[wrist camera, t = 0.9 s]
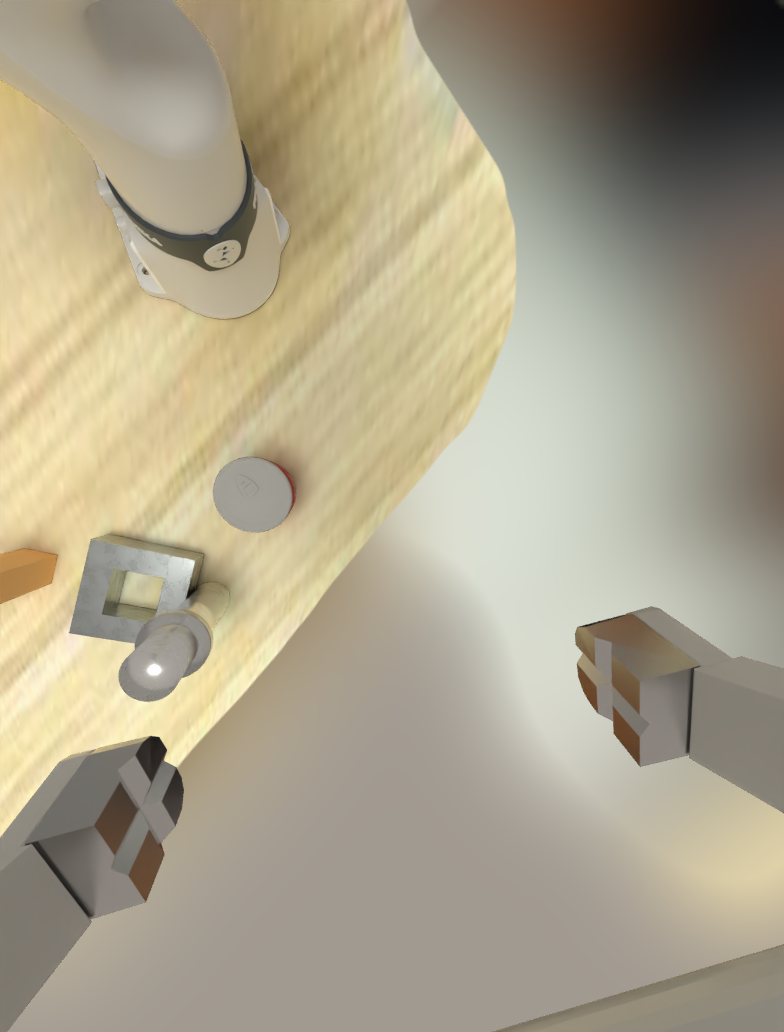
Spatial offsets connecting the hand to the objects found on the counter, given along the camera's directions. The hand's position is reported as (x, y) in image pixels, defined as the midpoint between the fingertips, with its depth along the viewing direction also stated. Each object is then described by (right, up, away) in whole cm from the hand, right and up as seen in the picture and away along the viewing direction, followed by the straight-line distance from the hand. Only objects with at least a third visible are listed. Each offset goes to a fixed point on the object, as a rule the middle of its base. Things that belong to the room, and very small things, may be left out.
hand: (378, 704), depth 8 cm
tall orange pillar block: (-42, -2, +39) cm, 57 cm away
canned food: (-16, +7, +43) cm, 47 cm away
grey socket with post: (-28, -6, +42) cm, 51 cm away
